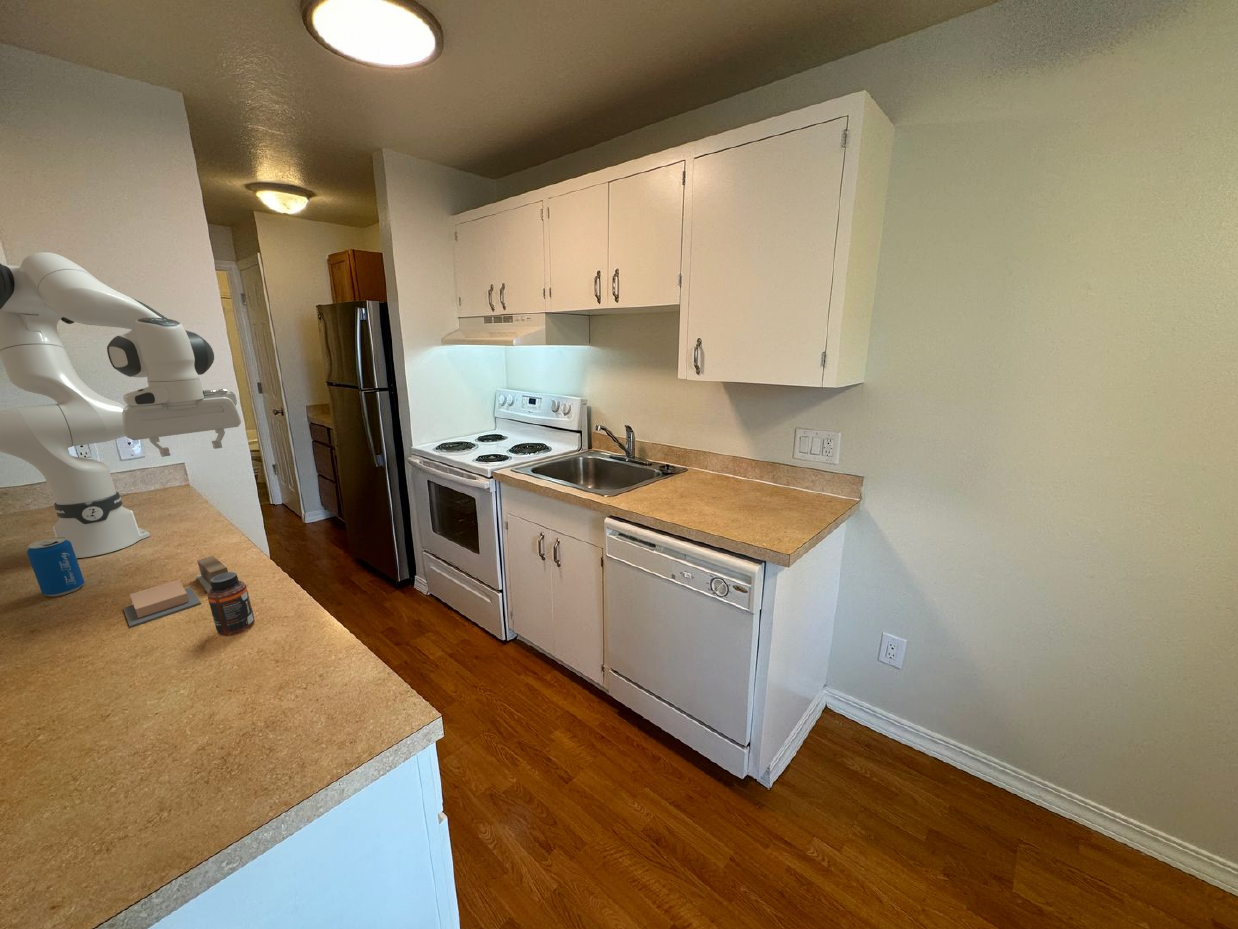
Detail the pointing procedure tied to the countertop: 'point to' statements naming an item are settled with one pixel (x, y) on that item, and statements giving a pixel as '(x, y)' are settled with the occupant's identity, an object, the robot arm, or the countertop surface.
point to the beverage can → (55, 566)
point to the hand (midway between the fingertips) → (192, 451)
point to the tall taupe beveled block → (211, 568)
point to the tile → (159, 598)
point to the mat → (135, 621)
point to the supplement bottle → (230, 604)
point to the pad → (204, 583)
